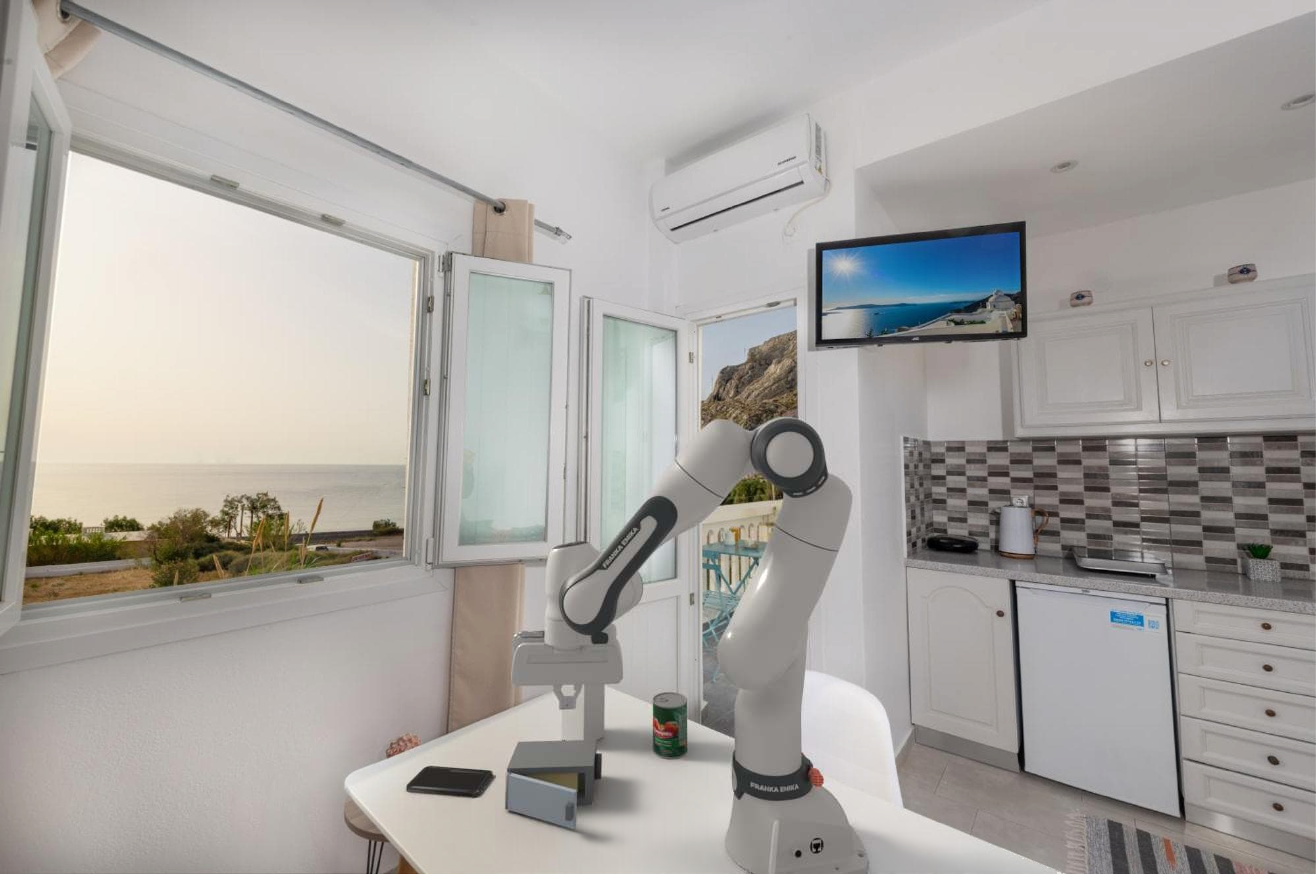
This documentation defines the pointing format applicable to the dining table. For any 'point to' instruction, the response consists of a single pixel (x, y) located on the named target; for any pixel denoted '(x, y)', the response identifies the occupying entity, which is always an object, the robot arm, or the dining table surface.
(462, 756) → the dining table surface
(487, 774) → the phone
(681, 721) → the canned tomato
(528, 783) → the side door
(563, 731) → the milk carton
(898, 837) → the dining table surface
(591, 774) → the box
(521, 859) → the dining table surface
